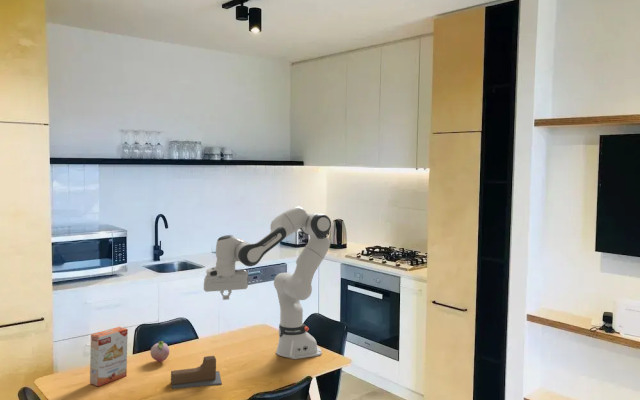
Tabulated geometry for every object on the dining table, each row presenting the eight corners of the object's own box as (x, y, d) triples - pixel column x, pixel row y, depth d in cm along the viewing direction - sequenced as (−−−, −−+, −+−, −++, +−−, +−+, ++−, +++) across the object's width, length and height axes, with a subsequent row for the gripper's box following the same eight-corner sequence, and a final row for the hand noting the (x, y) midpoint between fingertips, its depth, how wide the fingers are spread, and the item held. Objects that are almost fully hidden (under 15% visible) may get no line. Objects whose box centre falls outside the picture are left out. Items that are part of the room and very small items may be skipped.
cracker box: (98, 387, 205) (98, 336, 204) (89, 383, 209) (89, 334, 207) (127, 376, 217) (128, 328, 216) (118, 372, 220) (119, 325, 219)
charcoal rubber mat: (218, 372, 224) (219, 371, 224) (221, 384, 212) (221, 383, 212) (172, 376, 219) (172, 374, 219) (171, 388, 206) (172, 387, 206)
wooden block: (214, 355, 218) (171, 359, 212) (216, 359, 214) (172, 363, 208) (214, 375, 219) (170, 381, 212) (215, 379, 215) (172, 385, 208)
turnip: (149, 359, 237) (149, 338, 236) (167, 357, 240) (168, 336, 239) (151, 367, 228) (151, 345, 227) (170, 364, 231) (170, 343, 231)
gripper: (246, 267, 242) (246, 296, 243) (203, 270, 236) (203, 299, 237) (249, 270, 236) (249, 299, 237) (204, 273, 230) (204, 302, 231)
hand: (225, 299), depth 237 cm, fingers closed
